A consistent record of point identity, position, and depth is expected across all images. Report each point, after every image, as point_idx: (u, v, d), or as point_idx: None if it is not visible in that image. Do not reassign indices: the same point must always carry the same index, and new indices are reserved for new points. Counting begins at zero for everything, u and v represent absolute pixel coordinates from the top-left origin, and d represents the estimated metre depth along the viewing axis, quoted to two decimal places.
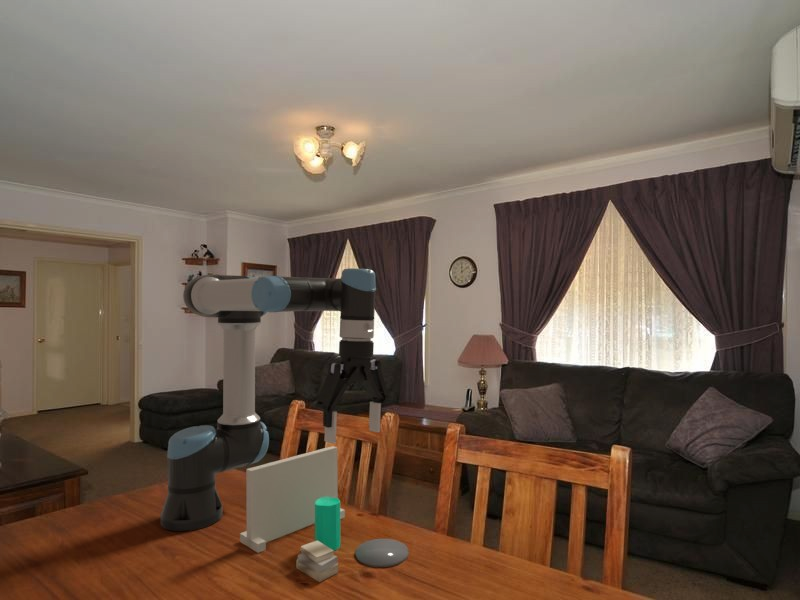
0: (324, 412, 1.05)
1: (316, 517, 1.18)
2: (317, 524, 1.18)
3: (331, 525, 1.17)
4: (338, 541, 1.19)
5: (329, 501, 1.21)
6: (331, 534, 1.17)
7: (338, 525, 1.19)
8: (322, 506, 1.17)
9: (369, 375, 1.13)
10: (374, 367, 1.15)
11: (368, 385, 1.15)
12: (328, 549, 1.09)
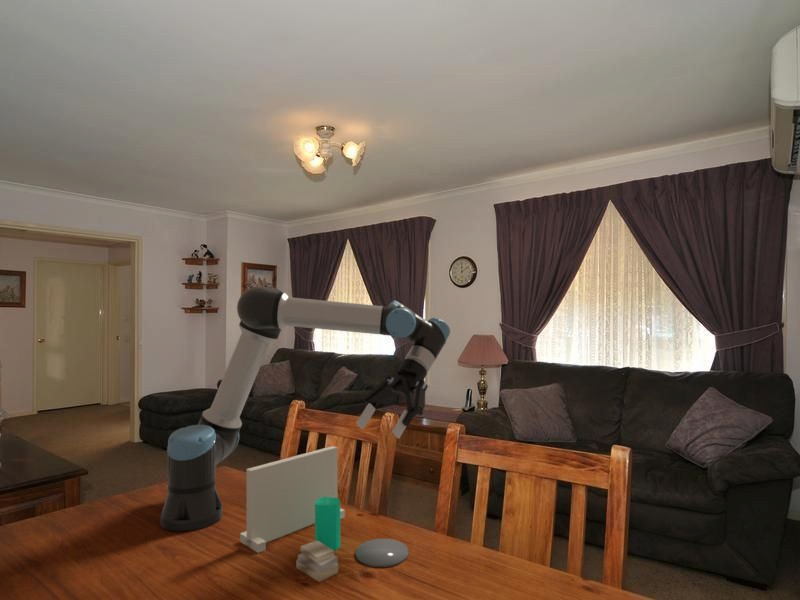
0: (411, 414, 1.28)
1: (316, 517, 1.18)
2: (317, 524, 1.18)
3: (331, 525, 1.17)
4: (338, 541, 1.19)
5: (329, 501, 1.21)
6: (331, 534, 1.17)
7: (338, 525, 1.19)
8: (322, 506, 1.17)
9: None
10: None
11: (387, 395, 1.39)
12: (328, 549, 1.09)
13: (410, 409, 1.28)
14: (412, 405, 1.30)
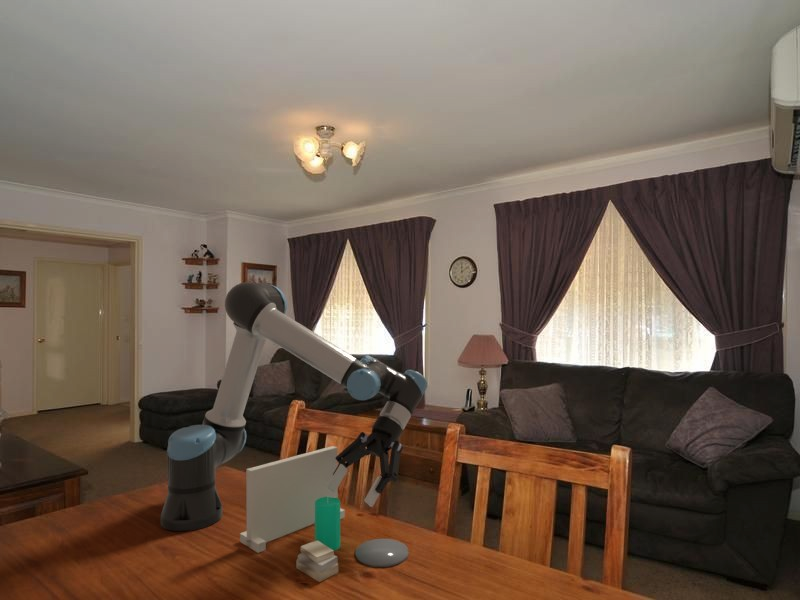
0: (385, 480, 1.21)
1: (316, 517, 1.18)
2: (317, 524, 1.18)
3: (331, 525, 1.17)
4: (338, 541, 1.19)
5: (329, 501, 1.21)
6: (331, 534, 1.17)
7: (338, 525, 1.19)
8: (322, 506, 1.17)
9: None
10: (366, 442, 1.35)
11: (360, 455, 1.32)
12: (328, 549, 1.09)
13: (384, 475, 1.21)
14: (386, 470, 1.23)
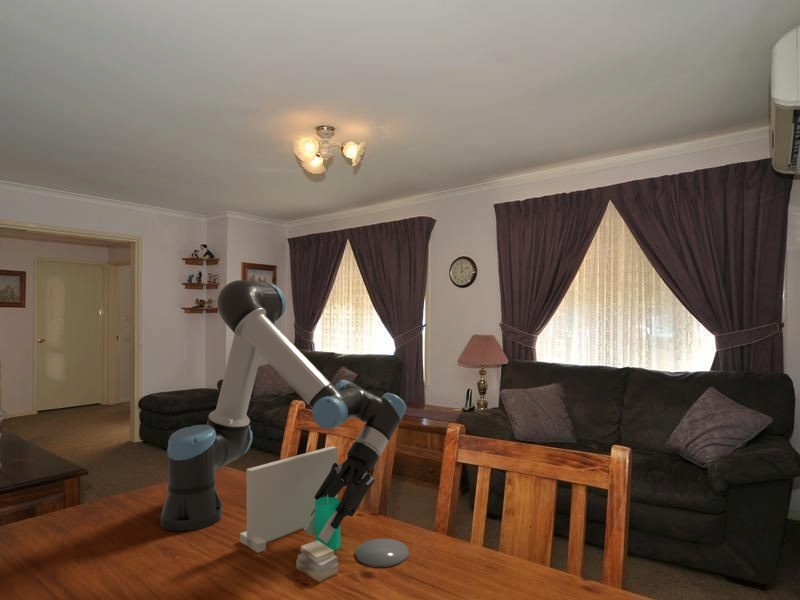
0: (341, 515, 1.17)
1: (316, 517, 1.18)
2: (318, 524, 1.18)
3: None
4: (338, 541, 1.19)
5: (329, 501, 1.21)
6: None
7: None
8: (322, 506, 1.17)
9: None
10: None
11: (338, 488, 1.25)
12: (328, 549, 1.09)
13: (339, 511, 1.17)
14: (345, 504, 1.19)
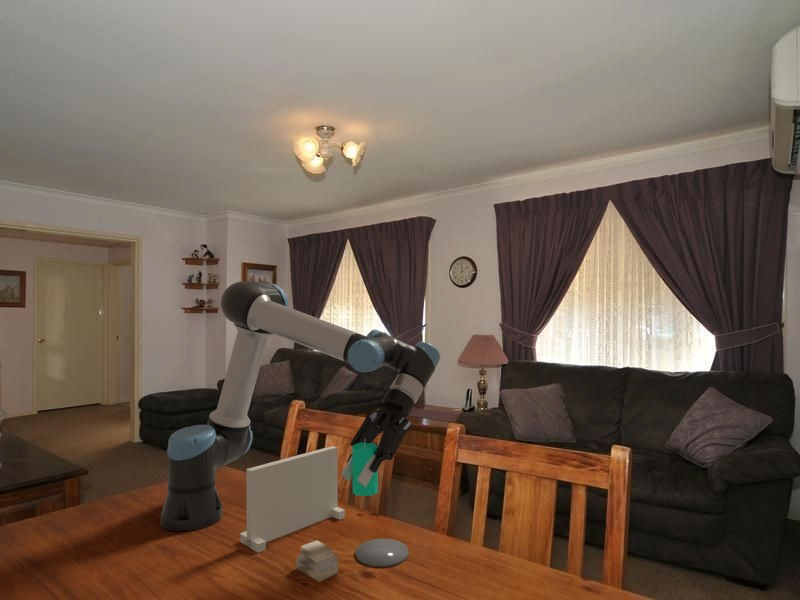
0: (380, 459, 1.15)
1: (354, 461, 1.16)
2: (355, 468, 1.15)
3: None
4: (376, 486, 1.16)
5: (366, 446, 1.18)
6: None
7: None
8: (360, 449, 1.15)
9: None
10: (375, 420, 1.26)
11: (374, 434, 1.22)
12: (328, 549, 1.09)
13: (377, 454, 1.15)
14: (383, 448, 1.16)
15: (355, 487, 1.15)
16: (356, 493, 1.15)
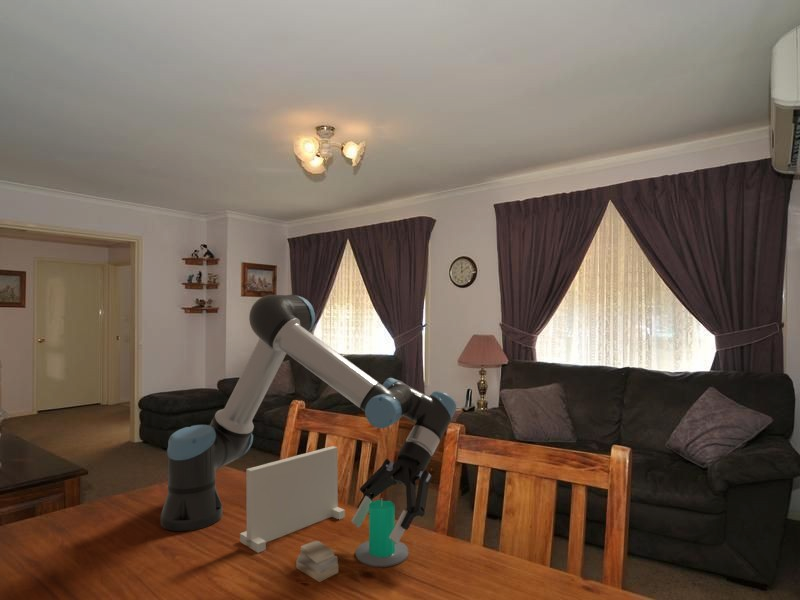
0: (411, 515, 1.12)
1: (371, 521, 1.14)
2: (372, 528, 1.14)
3: (386, 529, 1.13)
4: (393, 546, 1.15)
5: (383, 505, 1.17)
6: (386, 539, 1.13)
7: None
8: (377, 510, 1.13)
9: None
10: (391, 469, 1.26)
11: (386, 485, 1.22)
12: (328, 549, 1.09)
13: (410, 510, 1.12)
14: (412, 503, 1.14)
15: (371, 547, 1.14)
16: (373, 554, 1.14)
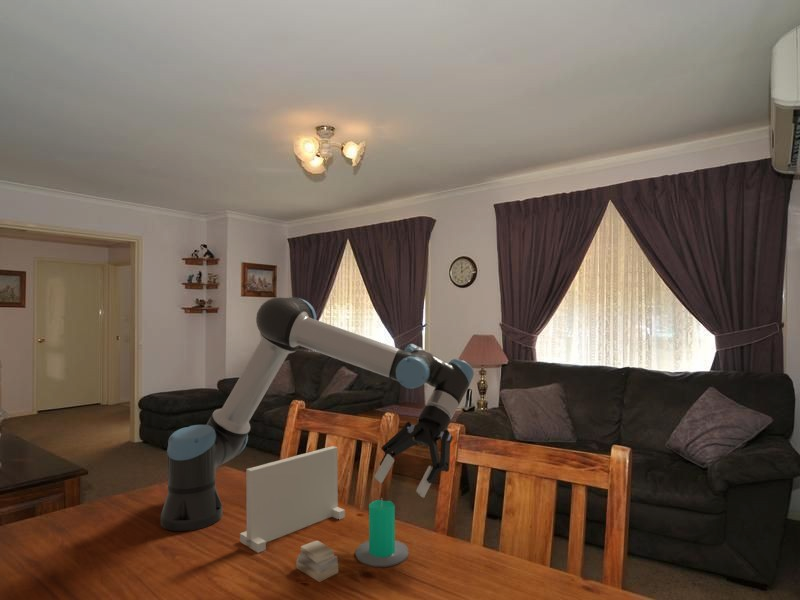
0: (437, 470, 1.17)
1: (371, 521, 1.14)
2: (372, 528, 1.14)
3: (386, 529, 1.13)
4: (393, 546, 1.15)
5: (383, 505, 1.17)
6: (386, 539, 1.13)
7: (393, 529, 1.15)
8: (377, 510, 1.13)
9: None
10: (412, 432, 1.32)
11: (407, 445, 1.28)
12: (328, 549, 1.09)
13: (436, 465, 1.17)
14: (437, 460, 1.19)
15: (371, 547, 1.14)
16: (373, 554, 1.14)
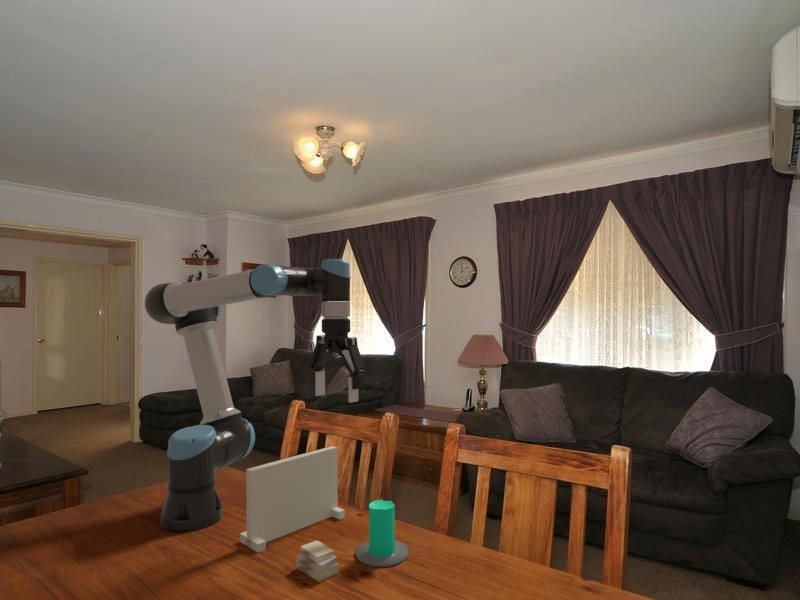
0: (356, 377, 1.29)
1: (371, 521, 1.14)
2: (372, 528, 1.14)
3: (386, 529, 1.13)
4: (393, 546, 1.15)
5: (383, 505, 1.17)
6: (386, 539, 1.13)
7: (393, 529, 1.15)
8: (377, 510, 1.13)
9: None
10: (325, 341, 1.39)
11: (327, 356, 1.38)
12: (328, 549, 1.09)
13: (353, 375, 1.28)
14: (352, 368, 1.29)
15: (371, 547, 1.14)
16: (373, 554, 1.14)
